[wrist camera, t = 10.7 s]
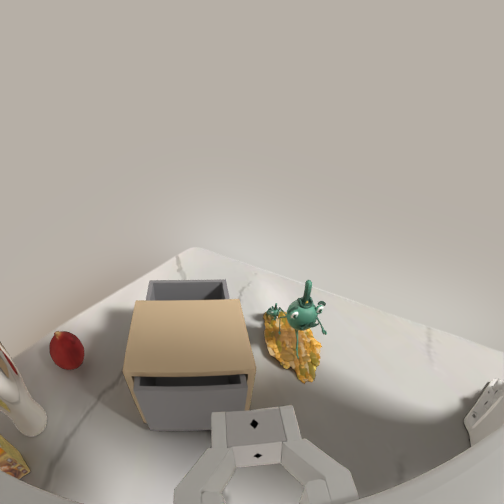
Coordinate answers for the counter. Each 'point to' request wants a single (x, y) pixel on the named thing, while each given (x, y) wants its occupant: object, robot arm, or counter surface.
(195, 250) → the counter surface
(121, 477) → the counter surface
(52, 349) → the onion
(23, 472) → the candy box
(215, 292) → the grey open box
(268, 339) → the frog figurine
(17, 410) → the beer glass
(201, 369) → the sleeve
